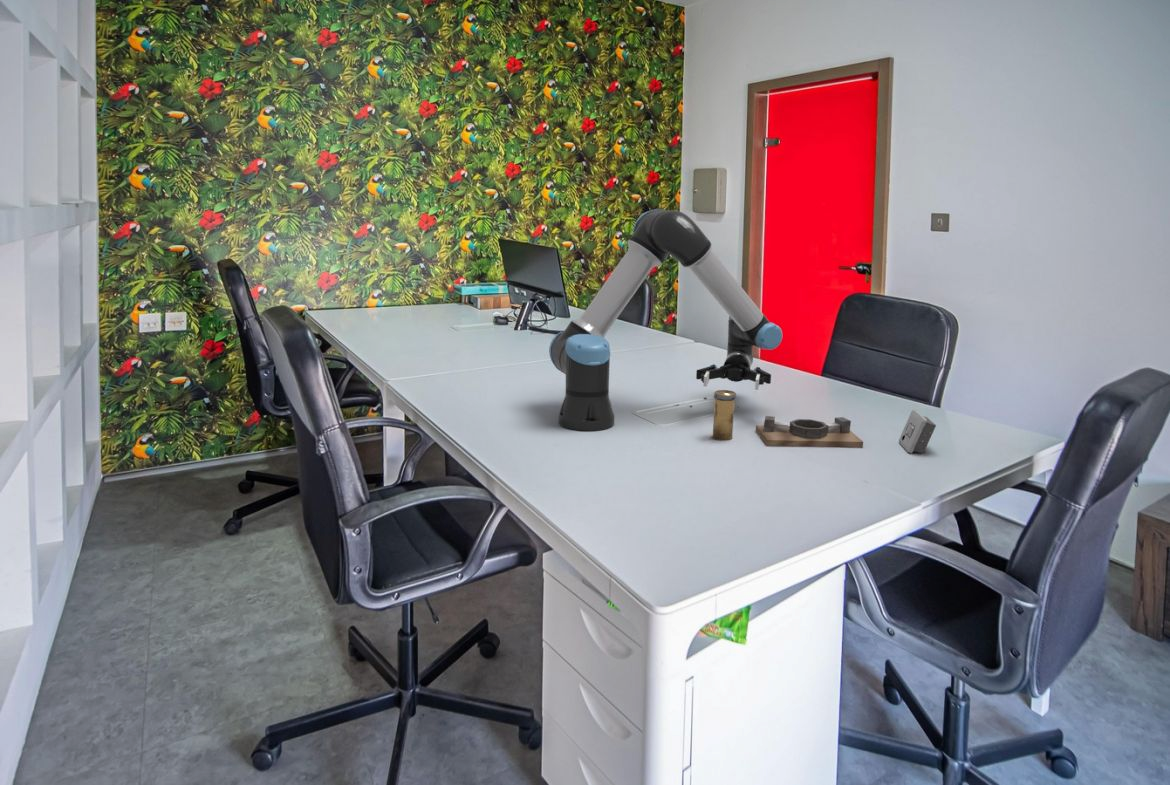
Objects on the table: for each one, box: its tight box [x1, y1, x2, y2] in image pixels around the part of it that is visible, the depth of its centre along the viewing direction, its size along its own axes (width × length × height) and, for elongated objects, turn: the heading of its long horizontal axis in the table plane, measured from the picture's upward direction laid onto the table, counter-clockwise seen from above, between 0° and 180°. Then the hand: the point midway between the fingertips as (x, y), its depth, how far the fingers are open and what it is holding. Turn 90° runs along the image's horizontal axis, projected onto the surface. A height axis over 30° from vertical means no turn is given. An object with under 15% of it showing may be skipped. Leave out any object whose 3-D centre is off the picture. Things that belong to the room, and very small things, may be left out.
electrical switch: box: [898, 409, 937, 454], centre depth 192 cm, size 9×5×9 cm, turn 173°
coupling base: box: [755, 415, 864, 449], centre depth 199 cm, size 24×13×5 cm, turn 90°
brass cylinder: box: [712, 389, 737, 441], centre depth 198 cm, size 5×5×12 cm
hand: (730, 383), depth 206 cm, fingers open, 13 cm apart
